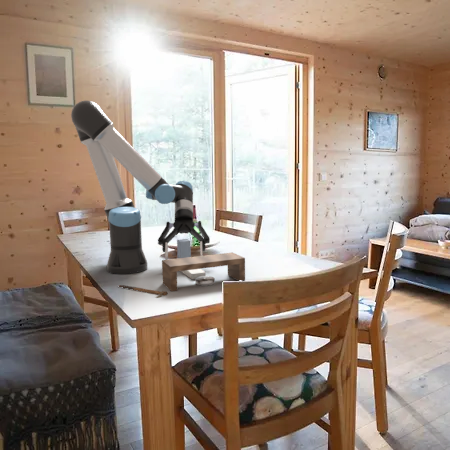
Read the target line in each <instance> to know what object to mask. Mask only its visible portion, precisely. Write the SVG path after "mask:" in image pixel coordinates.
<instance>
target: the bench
mask: <svg viewBox="0 0 450 450" xmlns="http://www.w3.org/2000/svg"><path fill="white" fill-rule="evenodd" d="M224 266H225V267H226V266H227V276H229V277H230V278H233V279H234V280H236V281H238V280H245V281H246V258H245V257H243V256H241V255H239V254H237V253H234V252H224V253H216V254H215V253H214V254H208V255H203V256H201V255H198V256H191V257H186V258H178V257H177V258H171V259H170V258H168V260H165V259H162V260H161V272H162V273H161V275H162V284H163V285H164V286H165V287H166V288H167V289H168V290H169V291H170V292H175V291H176V292H178V272H181V271H185V270H193V269H201V270H203V269H208V268H217V267H224Z"/></svg>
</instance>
